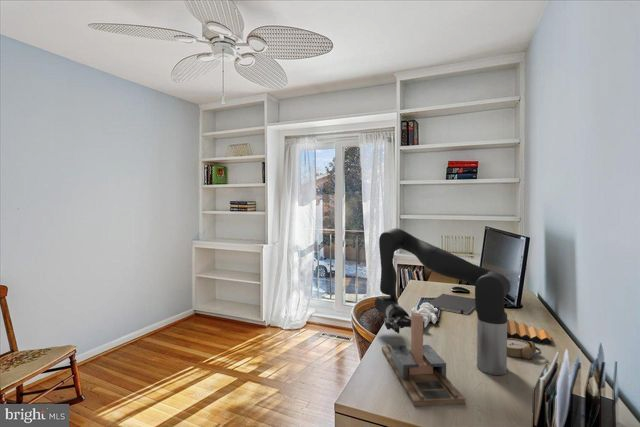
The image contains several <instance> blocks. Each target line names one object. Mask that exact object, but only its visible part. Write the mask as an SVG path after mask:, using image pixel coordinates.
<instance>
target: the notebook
mask: <svg viewBox="0 0 640 427" xmlns="http://www.w3.org/2000/svg"><path fill="white" fill-rule="evenodd" d="M428 303H429V304H431V305H433V306H436V307H440V308H441V311H444V312H452V313H457V314H460V315H469V314H470V313H472V311H473V310H474V309H476V308H475V298H472V297H468V296H467V297H466V296H459V295H453V294H447V293H441V294H440V295H439V296H437V297H436V298H434V299H433V300H432V301H430V302H428Z"/></svg>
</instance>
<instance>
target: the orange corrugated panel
mask: <svg viewBox="0 0 640 427" xmlns="http://www.w3.org/2000/svg"><path fill="white" fill-rule="evenodd" d="M507 338H513V339H519V340H523V341H526V342H528V341H531V342H533V343H534V344H536V343H537V344H541V343H542V345H549V346H551V344H552V339H551V336H550V334H549V332H547V330H545V329H541V330H538V329H537V328H536V327H535V326H534V325H533V326H530V327H528V325H527V324H525V323H524V322H523V323H521V324H519V323H518V322H517V321H515V320H511V321H510V320H509V319H508V318H507Z"/></svg>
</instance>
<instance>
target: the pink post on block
mask: <svg viewBox="0 0 640 427" xmlns="http://www.w3.org/2000/svg"><path fill="white" fill-rule="evenodd" d="M410 315H411V328H410V330H411V332H410V338H411V339H410V341H411V342H410V346H411V355H412V356H413V357H414V359H415V360H416V361H417V363H418V364H419V367H414V368H408V373H409V375H418V374H433V367H431V366H430V365H429V364H428V363H427V361H426V360H425V359H424V358H423V345H424V329H423V315H421V314H420V313H411V314H410Z"/></svg>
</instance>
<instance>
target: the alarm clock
mask: <svg viewBox="0 0 640 427" xmlns="http://www.w3.org/2000/svg"><path fill="white" fill-rule="evenodd" d="M537 351H538V352H537ZM540 355H542V349H541V348H539V347H537V345H536V343H535V342H532V340H530V341H523V340H522V339H520V340H519V339H513V338H512V337H510V338H507V357H508V356H509V357H514V358H515V357H516V358H517V357H518V358H519V357H520V358H521V357H522V358H523V359H526V360H531V359H532V358H533V357H534V356H540Z"/></svg>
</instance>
